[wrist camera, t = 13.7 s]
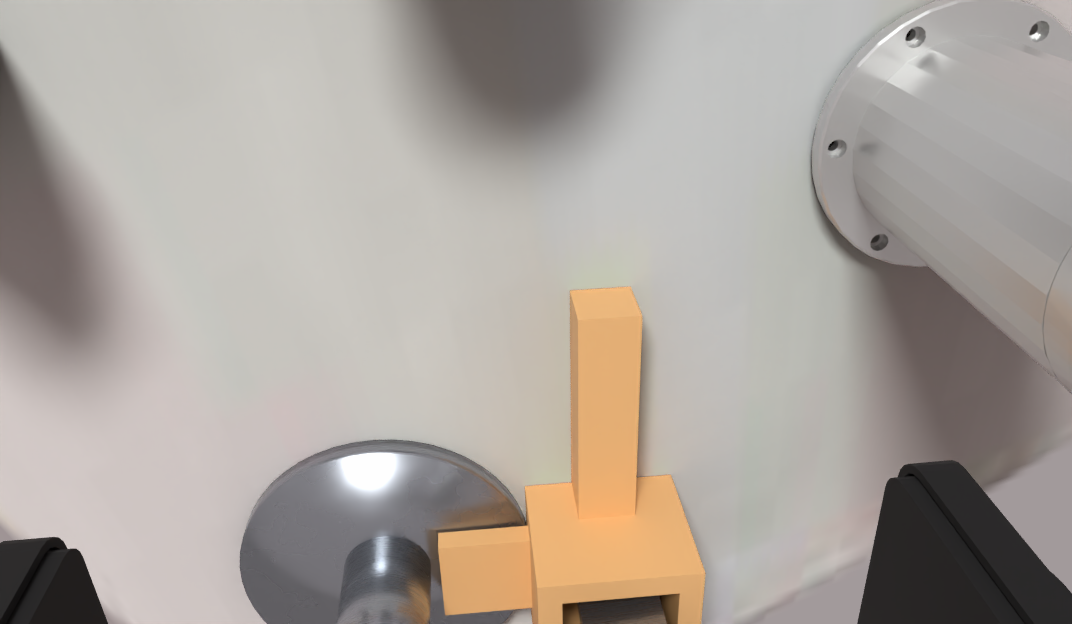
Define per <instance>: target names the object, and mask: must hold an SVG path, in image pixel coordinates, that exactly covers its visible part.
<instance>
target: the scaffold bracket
mask: <svg viewBox="0 0 1072 624" xmlns="http://www.w3.org/2000/svg"><path fill="white" fill-rule="evenodd" d="M641 339H642V314H641V311H640V309H639V306H638V304H637V301H636V299H635V297H634V294H633V292H632V289H631V287H618V288H602V289H587V290H571V291H570V359H571V480H572V483H560V484H548V485H535V486H525V501H526V525H527V526H518V527H506V528H493V529H481V530H469V531H457V532H445V533H438V553H439V562H440V572H441V581H442V590H443V600H444V609H445V615H456V614H467V613H479V612H490V611H501V610H513V609H524V608H531V614H532V623H533V624H580V618H579V613H578V607H577V602H588V601H600V600H611V599H622V598H634V597H645V596H656V595H659V597H660V601H661V604H662V608H663V612H664V615H665V619H666V622H667V624H701V618H702V607H703V596H704V585H705V574H706V573H705V570H704V568H703V565H702V562H701V559H700V556H699V553H698V551H697V548H696V545H695V542H694V539H693V536H692V534H691V531H690V528H689V525H688V522H687V519H686V517H685V514H684V511H683V508H682V505H681V502H680V499H679V497H678V494H677V491H676V488H675V485H674V482H673V480H672V477H671V475H662V476H649V477H636V475H637V448H638V421H639V394H640V367H641Z"/></svg>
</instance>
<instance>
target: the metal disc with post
mask: <svg viewBox="0 0 1072 624" xmlns="http://www.w3.org/2000/svg"><path fill="white" fill-rule="evenodd" d="M518 526H526V523H525V519H524V516H523V514H522V512H521V510H520V508H519V506H518V504H517V502H516V500H515V499H514V497H513V496H512V495H511V493H510V492H509V490H508V489H507V488H506V487H505V486H504V485H503V484H502V483H501V482H500V481H499V480H498V479H497V478H496V477H495V476H494V475H492V474H491V473H490V472H489V471H487V470H486V469H485V468H483V467H482V466H480V465H478V464H477V463H475V462H473V461H472V460H470V459H468V458H466V457H464V456H462V455H459V454H457V453H455V452H452V451H450V450H447V449H444V448H440V447H437V446H434V445H429V444H424V443H419V442H414V441H403V440H370V441H362V442H355V443H350V444H346V445H341V446H337V447H333V448H331V449H328V450H325V451H322V452H320V453H317V454H315V455H313V456H311V457H309V458H307V459H305V460H303V461H301V462H299V463H297V464H296V465H294V466H293V467H291V468H290V469H288V470H287V471H285V472H284V473H283V474H282V475H281V476H279V477H278V478H277V479H276V480H275V481H274V482H273V483H271V485H270V486H269V487H268V488H267V489H266V491H265V492H264V493H263V494H262V495H261V497H260V498H259V500H258V502H257V503H256V505H255V507H254V508H253V510H252V513H251V515H250V518H249V520H248V523H247V526H246V530H245V533H244V537H243V541H242V546H241V551H240V571H241V577H242V582H243V585H244V588H245V591H246V594H247V596H248V598H249V600H250V601H251V603H252V605H253V607H254V608H255V610H256V611H257V612H258V614H259V615H260V616H261V617H262V619H263V620H264V621H265V622H266V623H267V624H502V623H503V622H504V621H505V620H506V619H507V618H508V616H509V615H510V614H511V613H512V612H513V610H514V609H513V610H501V611H490V612H479V613H467V614H456V615H445V609H444V600H443V590H442V581H441V572H440V562H439V553H438V533H445V532H457V531H469V530H481V529H493V528H506V527H518Z"/></svg>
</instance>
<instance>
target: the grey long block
mask: <svg viewBox="0 0 1072 624" xmlns="http://www.w3.org/2000/svg"><path fill="white" fill-rule="evenodd" d="M577 607H578V613H579V618H580V624H667V622H666V619H665V615H664V612H663V608H662V604H661V601H660V597H659V595H656V596H645V597H634V598H622V599H611V600H600V601H588V602H577Z"/></svg>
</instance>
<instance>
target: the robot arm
mask: <svg viewBox="0 0 1072 624" xmlns="http://www.w3.org/2000/svg"><path fill="white" fill-rule="evenodd" d="M910 30H911V34H910V36H909V37H908V38H906V35H907V33H908V32H909V31H910ZM905 38H906V39H905ZM833 141H834V144H833V146H832V147H830V148H828V147H829V145H830V144H831V143H832V142H833ZM812 176H813V180H814V185H815V189H816V193H817V197H818V199H819V201H820V204H821V206H822V208H823V210H824V212H825V214H826V216H827V218H828V219H829V220H830V221H831V223H832V224H833V225H834V226H835V227H836V229H837V230H838V231H839V232H840V233H841V234H842V235H843V236H844V237H845V238H846V239H847V240H848V241H849V242H850V243H851V244H852V245H853V246H855V247H856V248H858V249H859V250H861V251H862V252H864V253H865V254H867V255H869V256H871V257H873V258H876V259H879V260H882V261H885V262H888V263H891V264H894V265H902V266H910V267H927V266H928V267H929V268H931V269H932V270H933V271H934V272H935V273H936V274H937V275H939V276H940V277H941V278H942V279H943V280H944V281H945V282H946V283H948V284H949V285H950V286H951V287H952V288H953V289H954V290H955V291H957V292H958V293H959V294H960V295H961V296H962V297H963V298H964V299H966V300H967V301H968V302H969V303H970V304H971V305H972V306H973V307H975V308H976V309H977V310H978V311H979V312H980V313H981V314H982V315H984V316H985V317H986V318H987V319H988V320H989V321H990V322H991V323H993V324H994V325H995V326H996V327H997V328H998V329H999V330H1000V331H1002V332H1003V333H1004V334H1005V335H1006V336H1007V337H1008V338H1009V339H1011V340H1012V341H1013V342H1014V343H1015V344H1016V345H1017V346H1018V347H1020V348H1021V349H1022V350H1023V351H1024V352H1025V353H1026V354H1027V355H1029V356H1030V357H1031V358H1032V359H1033V360H1034V361H1035V362H1036V363H1038V364H1039V365H1040V366H1041V367H1042V368H1043V369H1044V370H1045V371H1047V372H1048V373H1049V374H1050V375H1051V376H1052V377H1053V378H1054V379H1056V380H1057V381H1058V382H1059V383H1060V384H1061V385H1062V386H1063V387H1065V388H1066V389H1067V390H1068V391H1069V392H1070V393H1072V34H1071V33H1070V32H1069V31H1068V30H1067V29H1066V28H1065V27H1064V25H1063V24H1062V23H1061V22H1060V21H1059V20H1058V19H1057V18H1056V17H1054V16H1052V15H1051V14H1049V13H1047V12H1046V11H1044V10H1042V9H1041V8H1039V7H1037V6H1036V5H1033V4H1030V3H1027V2H1024V1H1021V0H937V1H933V2H931V3H928V4H926V5H924V6H922V7H919V8H917V9H915V10H913V11H910V12H908V13H906V14H904V15H903V16H901V17H900V18H898V19H897V20H895V21H894V22H892V23H891V24H889V25H888V26H886V27H885V28H883V29H882V30H880V31H879V32H878V33H877V34H876V35H875V36H874V37H873V38H872V39H871V40H869V41H868V42H867V43H866V44H865V45H864V46H863V47H862V48H861V49H860V50H859V51H858V52H857V53H856V54H855V56H854V57H853V58H852V59H851V61H850V62H849V63H848V64H847V66H846V67H845V68H844V69H843V71H842V72H841V73H840V75H839V76H838V78H837V80H836V82H835V84H834V85H833V87H832V89H831V91H830V92H829V94H828V96H827V98H826V100H825V102H824V105H823V108H822V111H821V113H820V116H819V119H818V122H817V124H816V130H815V135H814V141H813V147H812ZM873 237H874V238H873ZM0 624H108V622H107V620H106V617H105V614H104V612H103V609H102V606H101V604H100V601H99V598H98V596H97V593H96V590H95V588H94V585H93V583H92V580H91V577H90V575H89V572H88V569H87V567H86V564H85V561H84V559H83V556H82V555H81V553H80V551H78V550H77V549H67V547H66V545H65V543H64V542H63V541H62V540H61V539H60V538H57V537H49V538H37V539H25V540H13V541H3V542H1V543H0ZM858 624H1072V593H1071V592H1070V591H1069V590H1068V589H1067V587H1066V586H1065V585H1064V584H1063V583H1062V582H1061V581H1060V580H1059V579H1058V578H1057V577H1056V576H1055V575H1054V574H1052V573H1051V572H1050V571H1049V570H1048V569H1047V567H1046V566H1045V565H1044V564H1043V563H1042V561H1041V560H1040V559H1039V558H1038V557H1037V555H1036V554H1035V553H1034V552H1033V550H1032V549H1031V548H1030V547H1029V546H1028V544H1027V543H1026V542H1025V541H1024V540H1023V539H1022V537H1021V536H1020V535H1019V534H1018V532H1017V531H1016V530H1015V529H1014V527H1013V526H1012V525H1011V524H1010V523H1009V521H1008V520H1007V519H1006V518H1005V517H1004V515H1003V514H1002V513H1001V512H1000V510H999V509H998V508H997V507H996V506H995V504H994V503H993V502H992V501H991V500H990V498H989V497H988V496H987V495H986V494H985V492H984V491H983V490H982V489H981V487H980V486H979V485H978V484H977V483H976V481H975V480H974V479H973V478H972V477H971V475H970V474H969V473H968V472H967V471H966V469H965V468H964V467H963V466H962V465H961V464H959V463H958V462H956V461H953V460H951V461H939V462H927V463H915V464H907V465H904V466H903V467H902V469H901V470H900V472H899V475H898V477H897V478H891V479H889V480H888V482H887V484H886V487H885V492H884V496H883V501H882V506H881V511H880V516H879V521H878V526H877V531H876V535H875V540H874V545H873V550H872V555H871V560H870V565H869V570H868V574H867V579H866V584H865V589H864V594H863V599H862V604H861V609H860V613H859V618H858Z"/></svg>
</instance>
